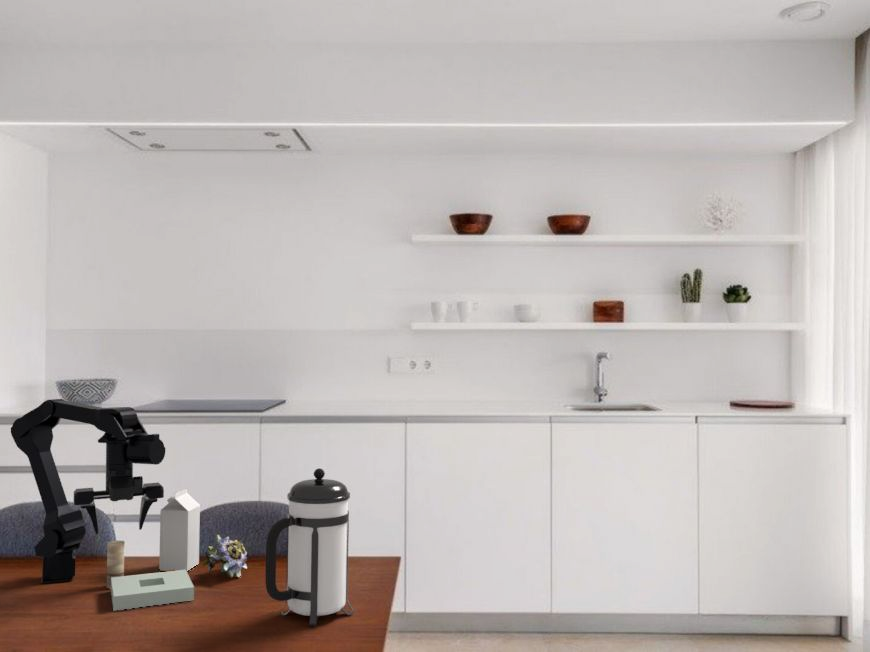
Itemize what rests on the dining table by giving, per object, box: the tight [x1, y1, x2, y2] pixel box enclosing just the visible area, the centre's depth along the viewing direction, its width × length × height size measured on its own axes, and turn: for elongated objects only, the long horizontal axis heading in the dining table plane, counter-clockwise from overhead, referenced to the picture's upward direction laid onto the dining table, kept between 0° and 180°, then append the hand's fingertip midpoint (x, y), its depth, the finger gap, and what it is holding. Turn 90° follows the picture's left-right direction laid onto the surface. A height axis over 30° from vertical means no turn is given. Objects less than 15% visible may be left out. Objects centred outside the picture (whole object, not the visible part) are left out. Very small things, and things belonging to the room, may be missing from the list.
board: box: [110, 570, 195, 612], centre depth 168 cm, size 16×14×3 cm
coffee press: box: [265, 468, 354, 628], centre depth 157 cm, size 17×16×30 cm
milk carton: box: [158, 488, 201, 571], centre depth 189 cm, size 7×7×19 cm
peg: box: [105, 539, 125, 588], centre depth 175 cm, size 4×4×10 cm
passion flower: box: [202, 534, 248, 579], centre depth 184 cm, size 11×11×12 cm
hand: (118, 531), depth 175 cm, fingers open, 9 cm apart
